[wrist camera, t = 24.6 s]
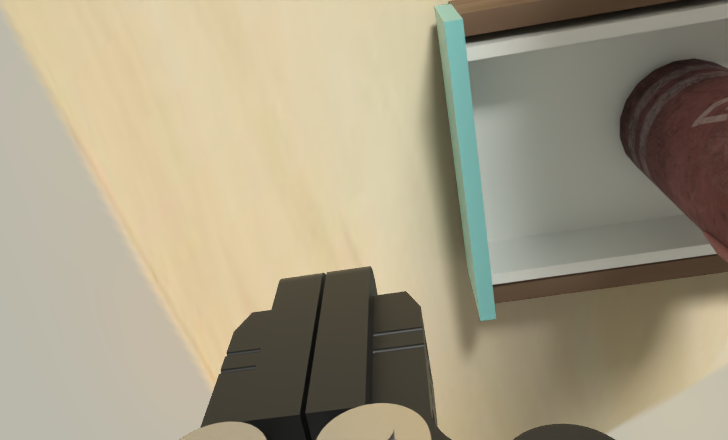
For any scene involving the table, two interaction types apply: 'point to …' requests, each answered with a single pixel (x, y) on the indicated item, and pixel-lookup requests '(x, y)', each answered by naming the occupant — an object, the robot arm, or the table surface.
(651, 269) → the tray stand
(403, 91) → the table surface
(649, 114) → the can
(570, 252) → the tray
